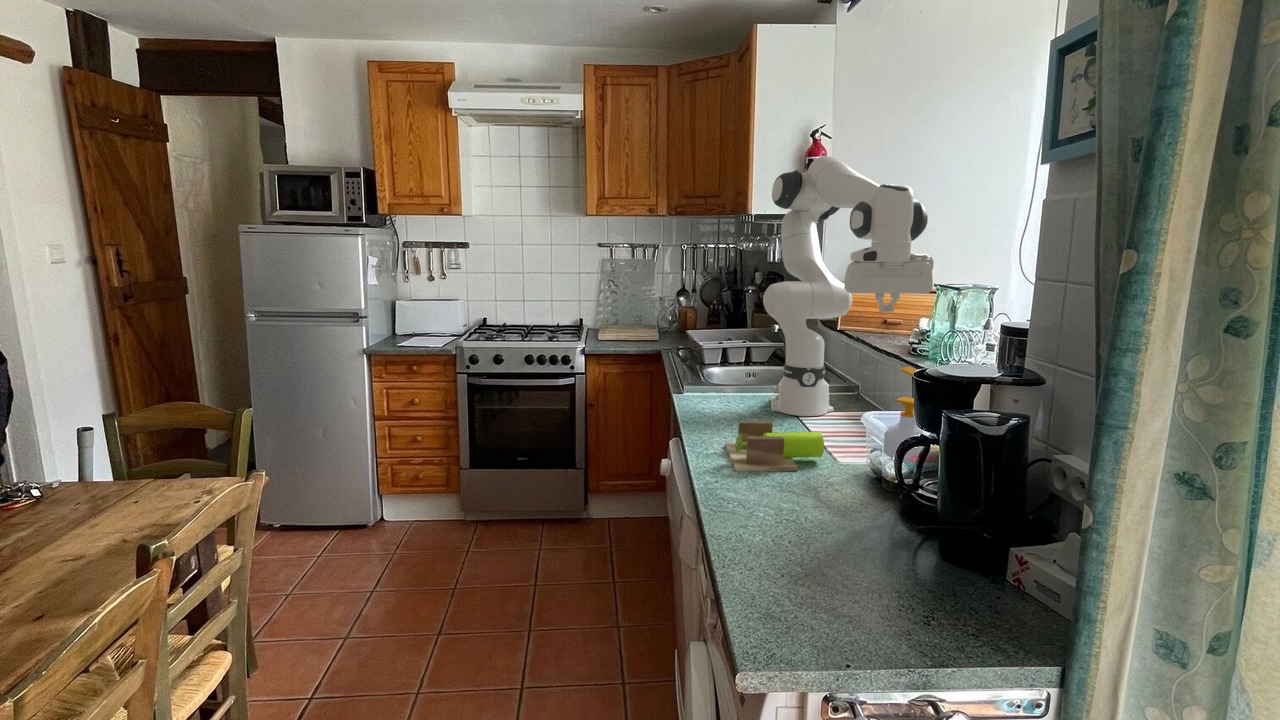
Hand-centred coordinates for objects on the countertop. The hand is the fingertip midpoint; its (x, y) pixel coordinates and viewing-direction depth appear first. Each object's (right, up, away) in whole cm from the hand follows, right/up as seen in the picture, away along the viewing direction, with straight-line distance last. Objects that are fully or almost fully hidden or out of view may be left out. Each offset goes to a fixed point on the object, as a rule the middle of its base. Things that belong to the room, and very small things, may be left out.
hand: (886, 312), depth 162 cm
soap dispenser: (-17, -31, -5) cm, 36 cm away
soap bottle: (-2, -38, -15) cm, 41 cm away
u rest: (-31, -35, -2) cm, 47 cm away
